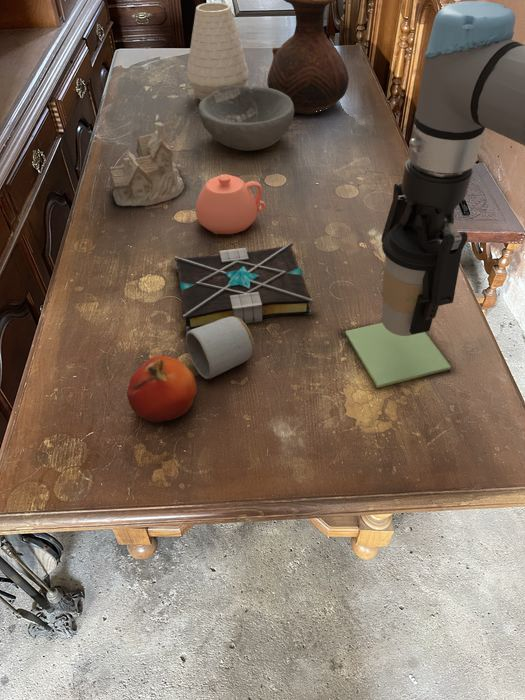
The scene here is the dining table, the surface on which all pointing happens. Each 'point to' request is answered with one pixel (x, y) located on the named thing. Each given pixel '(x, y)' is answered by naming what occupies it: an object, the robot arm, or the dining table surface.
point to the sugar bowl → (228, 204)
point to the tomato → (161, 389)
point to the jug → (309, 62)
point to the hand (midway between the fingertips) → (404, 311)
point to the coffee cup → (403, 277)
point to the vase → (215, 51)
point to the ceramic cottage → (147, 172)
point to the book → (242, 286)
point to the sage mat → (395, 354)
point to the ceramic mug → (219, 346)
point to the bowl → (246, 116)
